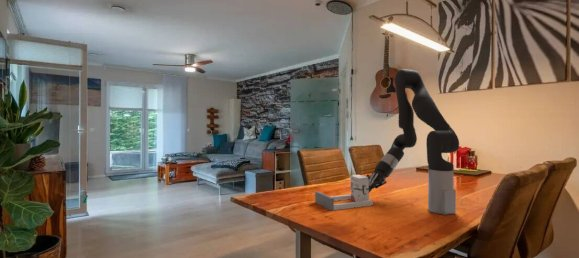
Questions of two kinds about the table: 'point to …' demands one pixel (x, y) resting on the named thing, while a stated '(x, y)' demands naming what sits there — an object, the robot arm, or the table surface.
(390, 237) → the table surface
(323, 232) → the table surface
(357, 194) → the ink box
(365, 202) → the bay
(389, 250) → the table surface
